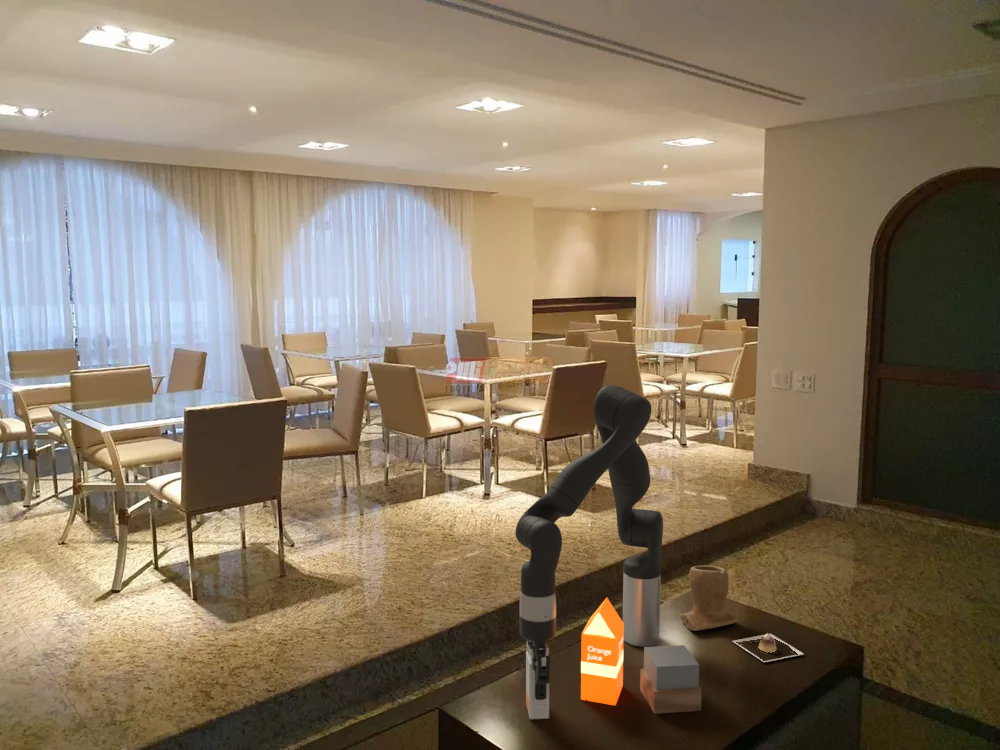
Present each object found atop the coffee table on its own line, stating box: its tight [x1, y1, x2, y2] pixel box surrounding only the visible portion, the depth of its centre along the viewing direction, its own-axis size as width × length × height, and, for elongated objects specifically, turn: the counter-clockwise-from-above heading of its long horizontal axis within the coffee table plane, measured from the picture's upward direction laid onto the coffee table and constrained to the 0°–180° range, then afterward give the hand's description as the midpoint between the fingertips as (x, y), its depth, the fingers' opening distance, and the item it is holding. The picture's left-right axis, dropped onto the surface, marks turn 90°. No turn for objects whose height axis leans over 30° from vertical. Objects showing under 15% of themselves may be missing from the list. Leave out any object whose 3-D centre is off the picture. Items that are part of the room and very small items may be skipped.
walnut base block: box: [639, 668, 702, 715], centre depth 163 cm, size 10×10×5 cm
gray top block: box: [643, 644, 700, 690], centre depth 163 cm, size 9×9×5 cm
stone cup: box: [679, 564, 738, 632], centre depth 201 cm, size 15×12×15 cm
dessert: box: [732, 632, 805, 663], centre depth 187 cm, size 12×12×5 cm
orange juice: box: [580, 597, 624, 706], centre depth 165 cm, size 8×9×20 cm
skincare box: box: [525, 650, 550, 720], centre depth 158 cm, size 6×4×12 cm
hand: (537, 690), depth 158 cm, fingers closed on skincare box, 6 cm apart
